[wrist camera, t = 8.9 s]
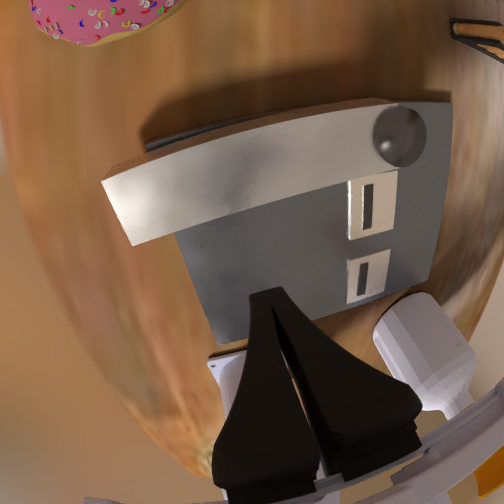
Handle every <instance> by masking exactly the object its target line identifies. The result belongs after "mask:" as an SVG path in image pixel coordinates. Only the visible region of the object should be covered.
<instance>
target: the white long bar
mask: <svg viewBox="0 0 504 504" xmlns="http://www.w3.org/2000/svg"><path fill="white" fill-rule="evenodd" d="M426 140H427V131H426V126H425V123H424V120H423V119H422V117H421V116H420V115H419V114H418V113H417V112H416V111H415V110H413V109H410V108H407V107H403V106H400V105H398V103H396V102H392V101H389V100H385V99H381V98H377V97H372V98H364V99H356V100H349V101H342V102H335V103H329V104H323V105H317V106H312V107H306V108H301V109H296V110H291V111H286V112H282V113H277V114H273V115H268V116H264V117H260V118H256V119H252V120H248V121H244V122H240V123H237V124H233V125H229V126H226V127H222V128H219V129H215V130H212V131H209V132H205V133H202V134H199V135H196V136H193V137H190V138H187V139H184V140H181V141H178V142H175V143H172V144H169V145H166V146H163V147H161V148H158V149H155V150H152V151H150V152H147V153H144V154H142V155H139V156H137V157H134V158H132V159H129V160H127V161H124V162H122V163H119V164H117V165H115V166H112V168H111V169H110V170H109V172H108V173H107V174H106V176H105V177H104V178H103V180H102V181H101V182H102V184H103V186H104V189H105V191H106V193H107V195H108V197H109V199H110V202H111V204H112V206H113V208H114V210H115V212H116V214H117V216H118V218H119V220H120V222H121V224H122V226H123V228H124V230H125V232H126V234H127V236H128V238H129V240H130V242H131V244H132V246H135V245H137V244H140V243H143V242H146V241H149V240H152V239H155V238H158V237H161V236H164V235H167V234H170V233H173V232H176V231H179V230H182V229H185V228H188V227H191V226H194V225H198V224H201V223H204V222H207V221H210V220H213V219H217V218H220V217H223V216H226V215H229V214H233V213H236V212H239V211H243V210H246V209H249V208H253V207H256V206H259V205H263V204H266V203H270V202H273V201H277V200H280V199H284V198H287V197H291V196H294V195H298V194H301V193H305V192H309V191H312V190H316V189H320V188H323V187H327V186H331V185H335V184H338V183H342V182H346V181H350V180H354V179H358V178H362V177H366V176H370V175H374V174H378V173H382V172H386V171H390V170H394V169H399V168H403V167H407V166H410V165H412V164H413V163H414V162H416V161H417V160H418V159H419V157H420V156H421V154H422V153H423V150H424V148H425V145H426Z"/></svg>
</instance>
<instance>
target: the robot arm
mask: <svg viewBox="0 0 504 504" xmlns="http://www.w3.org/2000/svg"><path fill="white" fill-rule="evenodd" d="M249 302H250V328H249V339H248V345H247V350H244V351H239V352H235V353H231V354H227V355H222V356H218V357H213V358H209V359H208V360H207V365H208V367H209V369H210V370H211V372H212V374H213V376H214V378H215V379H216V381H217V383H218V385H219V387H220V388H221V395H222V401H223V407H224V413H225V419H226V421H225V424H224V426H223V428H222V430H221V432H220V434H219V436H218V438H217V440H216V442H215V444H214V449H213V455H212V475H213V481H214V484H215V485H216V486H217V487H220V488H222V492H223V496H224V499H225V500H224V501H215V502H205V503H192V504H339V502H340V500H339V497H340V491H339V490H341V489H344V488H347V487H350V486H352V485H355V484H357V483H360V482H363V481H365V480H367V479H370V478H372V477H375V476H377V475H379V474H381V473H384V472H385V471H388V470H390V469H392V468H394V467H396V466H399V465H401V464H402V463H404V462H407V461H408V460H410V459H412V458H414V457H416V456H418V455H420V454H421V453H423V452H424V454H423V457H421V458H419V459H418V460H416V461H414V462H412V463H411V464H409V465H407V466H405V467H403V468H402V469H401V470H400V471H398V472H397V473H395V474H393V475H391V481H392V483H393V487H391V488H388V489H386V490H384V491H382V492H379V493H377V494H375V495H373V496H370V497H368V498H365V499H363V500H360V501H357V502H355V503H352V504H452V503H451V501H450V498H449V496H448V494H447V491H448V490H449V489H450V488H452V487H453V486H455V485H456V484H457V483H459V482H460V481H461V480H463V479H464V478H465V477H467V476H468V475H469V474H470V473H472V472H473V471H474V470H475V469H477V468H478V467H479V466H480V465H481V464H483V463H484V462H485V461H486V460H487V459H488V458H489V457H491V456H492V455H493V454H494V453H495V452H496V451H497V450H498V449H499V448H500V447H501V446H503V445H504V377H503V379H501V381H500V382H499V383H498V384H497V385H496V386H495V388H494V389H493V390H491V391H490V392H489V393H487V394H486V395H485V396H483V397H482V398H481V399H479V400H478V401H477V402H475V403H474V404H472V405H471V406H469V407H468V408H467V409H465V410H464V411H462V412H461V413H459V414H458V415H456V416H455V417H453V418H451V419H450V420H448V421H447V422H445V423H443V424H442V425H440V426H439V427H437V428H435V429H433V430H432V431H430V432H428V433H427V434H425V435H423V436H421V437H418V435H417V433H416V431H415V430H416V429H417V426H416V424H415V422H414V419H415V418H416V417H417V416H418V414H419V413H420V412H421V410H422V408H423V404H422V402H421V400H420V399H419V397H418V396H417V394H416V393H415V392H414V390H413V389H412V388H411V387H410V385H409V384H407V383H404V382H402V381H400V380H397V379H395V378H393V377H391V376H389V375H387V374H385V373H383V372H381V371H379V370H377V369H375V368H373V367H372V366H370V365H368V364H367V363H365V362H363V361H362V360H360V359H358V358H357V357H355V356H354V355H352V354H351V353H349V352H348V351H346V350H345V349H344V348H342V347H341V346H340V345H338V344H337V343H336V342H334V341H333V340H332V339H331V338H330V337H328V336H327V335H326V334H325V333H324V332H323V331H321V330H320V329H319V328H318V327H317V326H316V325H315V324H314V323H313V322H312V321H311V320H310V319H309V318H308V317H307V316H306V315H305V314H304V313H303V312H302V311H301V310H300V309H299V308H298V306H297V305H296V304H295V303H294V302H293V300H292V299H291V298H290V297H289V295H288V294H287V293H286V291H285V290H284V288H283V287H281V286H278V287H275V288H271V289H267V290H264V291H260V292H256V293H252V294H250V295H249ZM288 367H289V369H290V372H291V374H292V376H293V379H294V381H295V383H296V386H297V388H298V391H299V393H300V396H301V400H302V403H303V406H304V409H305V412H306V415H307V418H306V416H305V413H304V411H303V408H302V406H301V403H300V401H299V398H298V395H297V393H296V390H295V387H294V385H293V382H292V379H291V377H290V374H289V371H288ZM307 419H308V421H307ZM308 422H309V423H308ZM309 425H310V426H309ZM84 504H123V503H119V502H116V501H112V500H107V499H99V498H91V497H84Z"/></svg>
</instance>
